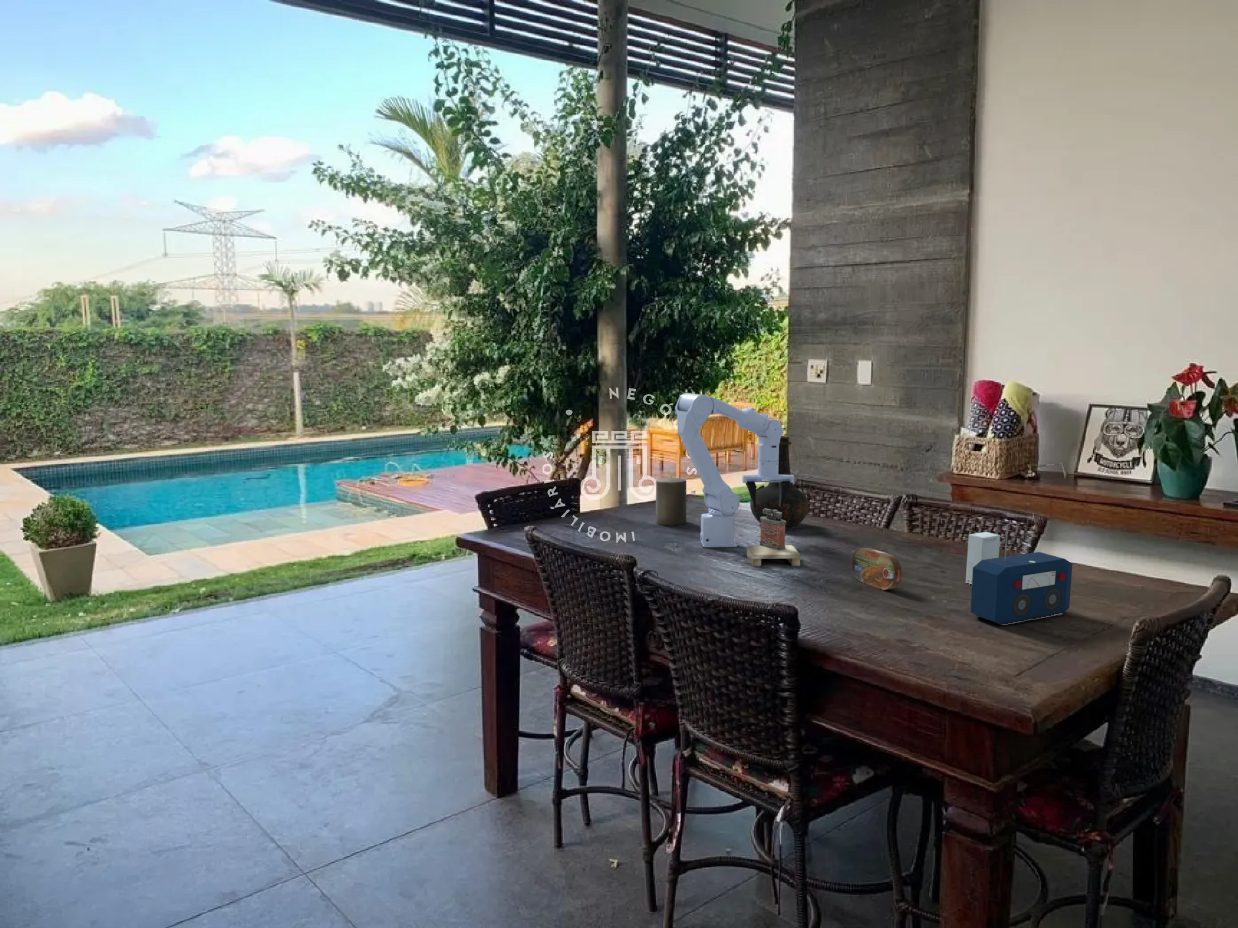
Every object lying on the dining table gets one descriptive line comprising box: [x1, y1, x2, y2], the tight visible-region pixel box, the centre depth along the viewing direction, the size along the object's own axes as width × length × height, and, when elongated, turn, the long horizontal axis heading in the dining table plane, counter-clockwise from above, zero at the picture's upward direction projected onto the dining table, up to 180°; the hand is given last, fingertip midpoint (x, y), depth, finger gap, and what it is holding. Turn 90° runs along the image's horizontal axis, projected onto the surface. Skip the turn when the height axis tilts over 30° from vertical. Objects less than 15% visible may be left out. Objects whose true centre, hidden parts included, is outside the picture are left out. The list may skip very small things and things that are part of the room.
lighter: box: [759, 508, 786, 550], centre depth 231 cm, size 8×3×10 cm, turn 37°
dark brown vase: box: [749, 435, 810, 529], centre depth 270 cm, size 18×18×28 cm
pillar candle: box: [655, 475, 687, 527], centre depth 276 cm, size 10×10×15 cm
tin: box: [851, 547, 902, 591], centre depth 206 cm, size 15×3×8 cm, turn 23°
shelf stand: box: [746, 544, 801, 567], centre depth 229 cm, size 12×10×3 cm
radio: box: [970, 524, 1073, 625], centre depth 182 cm, size 21×9×20 cm, turn 114°
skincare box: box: [965, 531, 1001, 585], centre depth 206 cm, size 6×4×12 cm
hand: (767, 507), depth 252 cm, fingers open, 7 cm apart
